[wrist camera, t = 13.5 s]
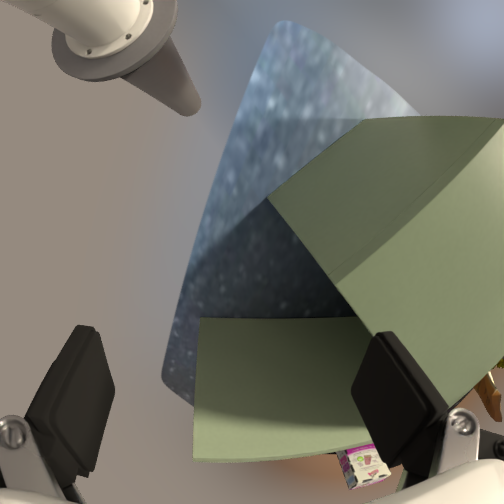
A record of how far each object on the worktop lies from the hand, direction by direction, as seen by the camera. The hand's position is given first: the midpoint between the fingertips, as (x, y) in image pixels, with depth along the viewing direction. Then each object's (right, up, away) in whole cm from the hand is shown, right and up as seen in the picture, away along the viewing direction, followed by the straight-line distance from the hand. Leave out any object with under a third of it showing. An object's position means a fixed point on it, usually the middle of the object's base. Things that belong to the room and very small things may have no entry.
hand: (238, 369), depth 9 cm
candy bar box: (+28, -48, +55) cm, 78 cm away
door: (+5, -10, +37) cm, 39 cm away
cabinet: (+18, +8, +32) cm, 37 cm away
